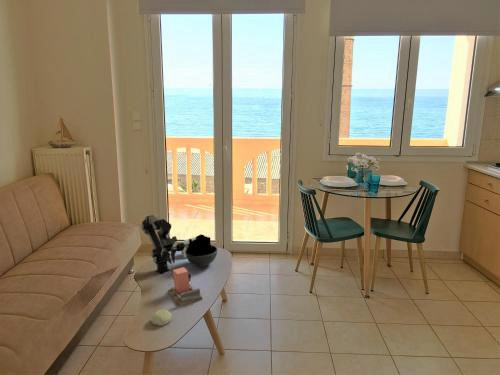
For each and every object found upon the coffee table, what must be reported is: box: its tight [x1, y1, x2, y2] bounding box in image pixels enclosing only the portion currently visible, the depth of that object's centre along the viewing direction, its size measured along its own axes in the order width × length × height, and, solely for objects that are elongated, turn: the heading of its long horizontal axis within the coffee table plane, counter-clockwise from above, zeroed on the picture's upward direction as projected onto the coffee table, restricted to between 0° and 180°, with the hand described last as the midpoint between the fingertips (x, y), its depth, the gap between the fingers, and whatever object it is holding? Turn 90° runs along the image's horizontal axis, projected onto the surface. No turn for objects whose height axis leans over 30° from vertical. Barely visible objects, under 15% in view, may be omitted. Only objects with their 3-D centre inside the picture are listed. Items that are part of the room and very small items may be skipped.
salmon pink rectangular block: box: [172, 266, 190, 293], centre depth 204 cm, size 6×6×11 cm
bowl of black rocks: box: [185, 234, 218, 268], centre depth 237 cm, size 20×20×19 cm
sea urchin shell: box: [150, 309, 173, 326], centre depth 179 cm, size 9×8×8 cm
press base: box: [167, 283, 203, 307], centre depth 201 cm, size 18×12×6 cm, turn 31°
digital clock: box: [179, 236, 196, 259], centre depth 255 cm, size 16×9×11 cm, turn 123°
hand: (172, 263), depth 212 cm, fingers closed
